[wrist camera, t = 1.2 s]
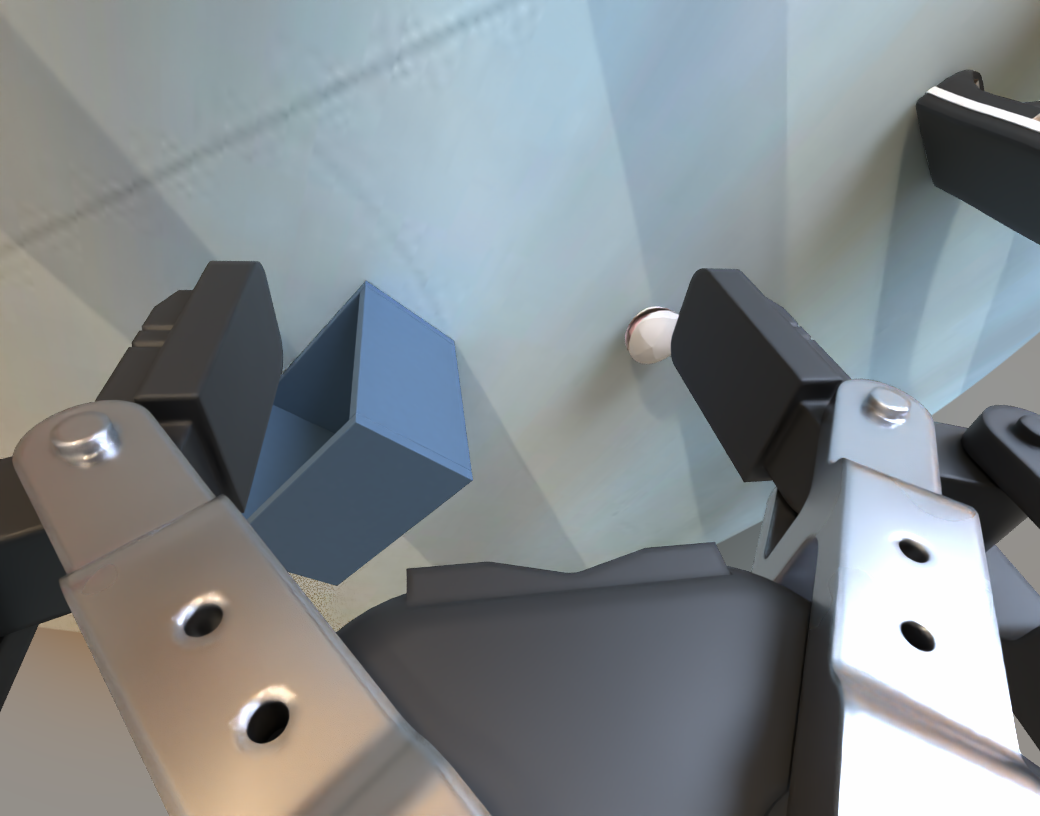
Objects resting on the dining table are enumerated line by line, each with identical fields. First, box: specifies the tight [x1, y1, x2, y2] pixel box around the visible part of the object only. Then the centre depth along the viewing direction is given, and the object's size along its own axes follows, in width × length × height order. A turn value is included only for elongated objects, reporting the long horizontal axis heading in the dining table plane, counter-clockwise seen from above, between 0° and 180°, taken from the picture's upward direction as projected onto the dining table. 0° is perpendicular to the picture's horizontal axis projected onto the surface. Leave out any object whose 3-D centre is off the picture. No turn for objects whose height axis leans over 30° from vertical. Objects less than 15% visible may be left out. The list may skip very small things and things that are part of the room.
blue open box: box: [241, 281, 473, 586], centre depth 32 cm, size 7×12×12 cm, turn 134°
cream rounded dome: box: [625, 306, 679, 364], centre depth 37 cm, size 4×5×2 cm
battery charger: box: [916, 70, 1040, 245], centre depth 27 cm, size 7×4×11 cm, turn 40°
